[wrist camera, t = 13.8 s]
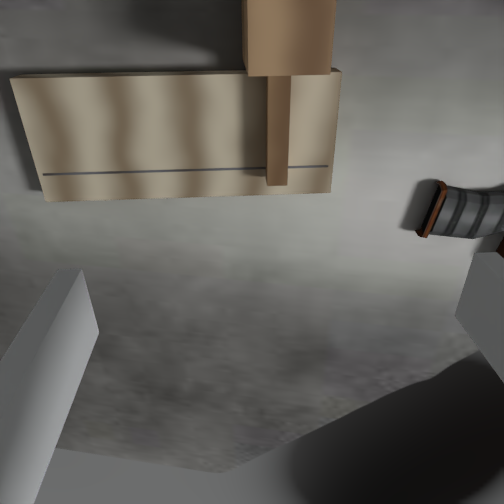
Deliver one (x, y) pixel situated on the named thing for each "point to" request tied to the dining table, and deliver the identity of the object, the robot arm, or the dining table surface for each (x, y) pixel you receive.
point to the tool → (464, 214)
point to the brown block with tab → (285, 62)
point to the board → (172, 133)
